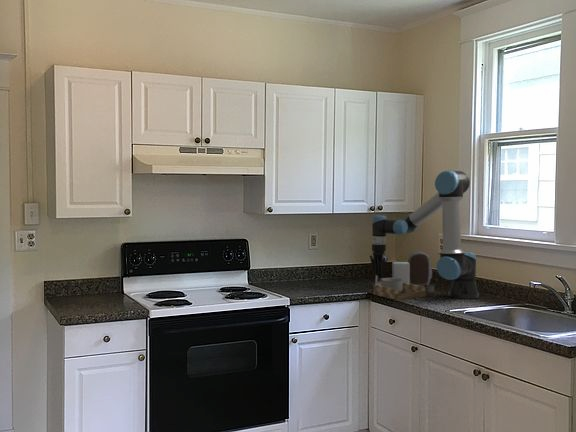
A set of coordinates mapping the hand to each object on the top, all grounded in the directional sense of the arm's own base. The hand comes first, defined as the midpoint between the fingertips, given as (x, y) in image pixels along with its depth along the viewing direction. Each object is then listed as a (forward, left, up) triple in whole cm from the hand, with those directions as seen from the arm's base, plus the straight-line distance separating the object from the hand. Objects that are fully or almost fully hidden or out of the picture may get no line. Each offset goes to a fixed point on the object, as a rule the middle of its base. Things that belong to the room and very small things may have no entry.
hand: (378, 286), depth 341 cm
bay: (-19, -4, -2) cm, 19 cm away
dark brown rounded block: (+4, -33, -2) cm, 33 cm away
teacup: (-10, 0, -2) cm, 10 cm away
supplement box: (-2, -14, -2) cm, 14 cm away
